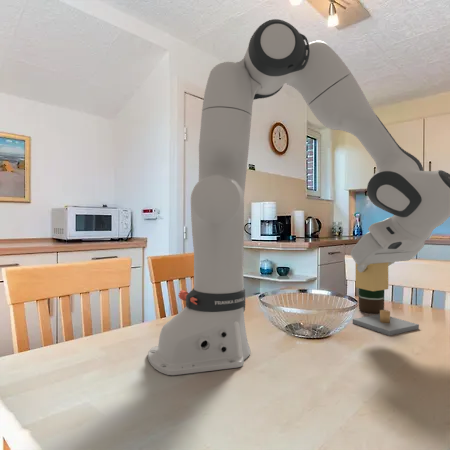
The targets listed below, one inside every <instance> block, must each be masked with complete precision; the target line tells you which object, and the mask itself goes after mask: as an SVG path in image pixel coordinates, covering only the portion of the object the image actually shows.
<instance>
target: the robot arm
mask: <svg viewBox="0 0 450 450" xmlns="http://www.w3.org/2000/svg"><path fill="white" fill-rule="evenodd" d="M285 84H286V85H288V86H291V87H292V88H293V89H294V90H296V91H297V92H298V93H299V94H300V95H301V96H302V99H303V100H304V102H305V103H306V104H307V106H308V108H309V110H310V111H311V112H312V114H313V115H314V117H315V118H316V119H317V120H318V121H319V122H320V123H321V124H322V125H323V126H325V128H327V129H330V130H333V131H343V132H346V133H349V134H351V135H353V136H354V137H356V139H358V141H359V142H360V143H361V144H362V146H363V147H364V148H365V150H366V151H367V153H368V154H369V155H370V157H371V159H373V160H374V162H375V166H376V171H375V173H373V175H372V176H371V178H370V179H369V181H368V183H367V187H366V193H367V194H366V195H367V197H368V199H369V201H370V202H371V203H372V204H373V205H374V206H376V207H377V208H379V209H380V210H383V211H385V212H387V213H389V214H391V215H393V216H390V217H388V218H385V219H384V220H381V221H377V222H374V223H372V224H370V225H369V226H368V232H366V233H365V234H363V236H361V237H360V239H359V240H358V242H356V244H355V245H354V246H353V248H352V249H351V251H350V256H351V258H352V259H353V261H354V262H355V264H356V263H357V264H358V266H357V269H358V271H359V272H365V271H366V270H367V269H368V268H367V265H370V264H376V263H387V262H388V267H389V266H392V264H395V263H396V262H408V261H411V260H412V259H414V257H416V256H417V255H418V253H420V251H422V249H423V248H424V246H425V245H426V240H427V239H428V238H429V237H430V236H431V235H432V233H433V232H434V230H435V229H436V228H438V227H439V226H441V225H442V224H444V223H445V222H446V221H447V220H448V219H449V218H450V173H449V172H446V171H444V170H441V169H440V170H439V169H438V170H433V171H432V170H431V171H429V170H424V167H423V165H422V162H421V161H420V159H418V158H417V157H416V156H415V155H413V154H411V153H410V152H409V151H406V150H404V149H403V148H402V146H401V145H399V143H397V141H396V139H395V138H394V136H392V135H391V133H390V132H389V130H388V128H386V126H385V124H384V123H383V122H382V121H381V119H380V118H379V116H378V115H377V114H376V113H375V111H374V109H373V107H372V106H371V104H370V102H369V101H368V99H367V97H366V96H365V94H364V91H363V90H362V88H361V86H360V85H359V82H358V81H357V80H356V78H355V76H354V75H353V73H352V72H351V70H350V69H349V67H348V66H347V65H346V63H345V61H344V60H343V59H342V58H341V57H340V56H339V55H338V54H337V52H336V51H335V50H334V49H333V48H332V47H330V45H329V44H328V43H326V42H325V41H322V40H316V41H312V42H309V40H308V38H307V37H306V35H305V34H302V33H301V32H299V30H298V29H297V28H296V27H295V26H293V24H291V23H289V22H287V21H285V20H283V19H277V18H274V19H273V18H272V19H269V20H267V21H264V22H263V23H262V24H260V25H259V26H258V27H257V28H256V30H255V31H254V32H253V34H252V35H251V37H250V40H249V43H248V47H247V49H246V51H245V54H244V57H243V58H242V59H241V60H240V61H237V62H235V61H234V62H233V61H224V62H220V63H218V64H216V65H215V66H213V67H212V69H211V70H210V72H209V75H208V78H207V82H206V86H205V90H204V94H203V101H202V109H201V119H200V131H199V143H198V182H197V183H195V185H194V186H193V189H192V191H191V196H190V217H191V219H190V220H191V233H192V234H191V235H192V246H193V288H192V289H191V290H190V291H189V292H188V291H186V290H184V289H183V290H180V291H179V292H178V298H179V299H180V300H182V301H185V307H184V308H183V309H182V310H181V311H179V312H178V313H177V314H176V315H175V316H173V317H172V318H171V319H170V320H169V321H167V322H166V323H165V324H164V325H162V328H161V331H160V333H159V339H158V344H157V345H156V346H152V347H150V348H149V350H148V354H147V360H148V362H149V364H150V365H151V366H152V368H154V370H157V371H158V372H159V373H162V374H164V375H166V376H167V375H168V376H179V375H187V374H193V373H194V374H195V373H202V372H204V373H205V372H210V371H218V370H226V369H235V368H240V367H243V366H244V362H245V360H246V359H247V358H249V356H250V355H251V349H250V344H249V341H248V337H247V336H248V335H247V330H246V322H245V310H246V289H245V288H244V251H245V250H244V248H245V247H244V243H245V242H244V241H245V237H244V236H245V234H244V233H245V232H244V230H245V228H244V227H245V192H246V191H245V189H246V181H247V180H246V179H247V168H248V157H249V149H250V148H249V147H250V137H251V127H252V116H253V115H252V114H253V102H254V100H260V99H267V98H270V97H272V96H274V95H276V94H277V93H279V91H281V90H282V89H283V86H284V85H285Z"/></svg>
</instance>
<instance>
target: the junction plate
mask: <svg viewBox="0 0 450 450" xmlns="http://www.w3.org/2000/svg"><path fill="white" fill-rule="evenodd" d="M352 324H355V325H357V326H360V327H363V328H366V329H368V330H372V331H375V332H377V333H380V334H384V335H386V336H393V335H398V334H402V333H407V332H412V331H417V330H420V324H418V323H414V322H411V321H408V320H404V319H401V318H397V317H393V316H391V310H388V309H384V310H380V313H379V314H372V315H367V316H363V317H362V316H361V317H358V318H352Z"/></svg>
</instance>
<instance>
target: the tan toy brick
mask: <svg viewBox="0 0 450 450" xmlns="http://www.w3.org/2000/svg"><path fill="white" fill-rule="evenodd" d="M357 266H358V264H357V263H356V262H355V289H359V288H360V289H365V290H369V291H379V290H384V291H387V290H389V266H388V262H387V263H376V264H370V265H367V268H368V269H367V270H366V271H365V272H359V271H358V269H357Z"/></svg>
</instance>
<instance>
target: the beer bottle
mask: <svg viewBox="0 0 450 450" xmlns="http://www.w3.org/2000/svg"><path fill="white" fill-rule="evenodd" d="M358 309H359V311H360V312H362V313H366V314H372V315H378V314H380V310H385V290H379V291H369V290H365V289H360V288H358Z"/></svg>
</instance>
